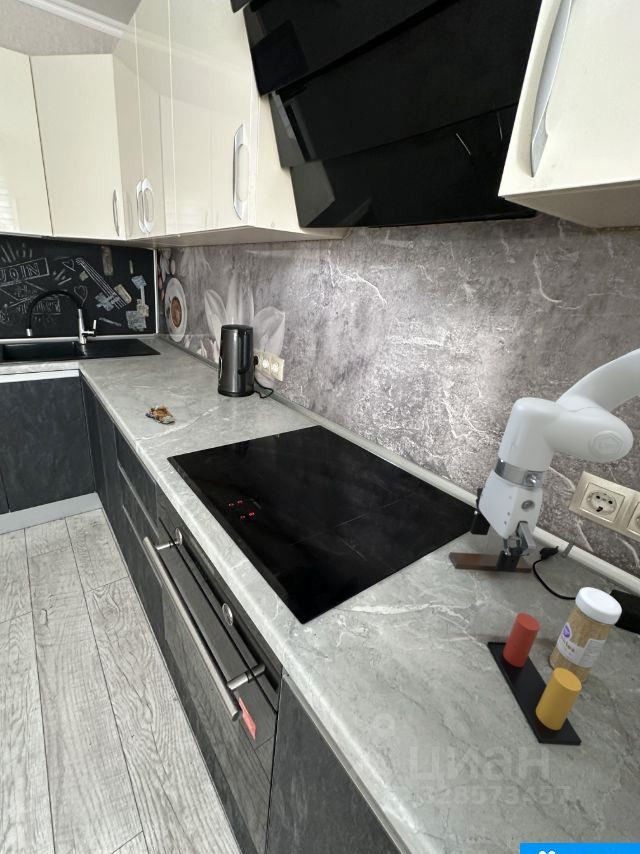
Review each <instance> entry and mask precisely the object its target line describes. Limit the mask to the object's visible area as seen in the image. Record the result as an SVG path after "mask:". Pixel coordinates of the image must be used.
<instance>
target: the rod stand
mask: <svg viewBox="0 0 640 854" xmlns="http://www.w3.org/2000/svg"><path fill="white" fill-rule="evenodd" d="M540 629H541V625H540V623H539V621H538V620H537V619H536V618H535V617H533V616H532V615H530V614H528V613H524V612H519V613H518V614H516V616H515V620H514V622H513V624H512V627H511V630H510V632H509V635H508V638H507V640H506V642H504V641H488V642H487V644H486V646H487V648H488V650H489V651H490V653H491V655H492V657H493V659H494V661H495V663H496V665H497V666H498V669H499V671H500V672H501V675H502V676H503V678H504V680H505V682H506V684H507V685H508V687H509V689H510V691H511V693H512V695H513V696H514V699H515V701H516V702H517V703H518V706H519V709H520V710H521V712H522V713H523V715H524V717H525V720H526V721H527V723H528V725H529V727H530V729H531V731H532V732H533V735H534V736H535V738H536V740H537V742H538V743H539V744H547V745H563V746H581V744H582V740H581V738H580V736H579V735H578V733H577V732H576V730H575V728H574V727H573V725H572V723H571V721H570V720H569V719H568V716H569V714H570V712H571V709H572V708H573V706H574V704H575V702H576V700H577V698H578V696H579V694H580V693H581V691H582V687H583V685H582V683H581V682H580V680H579V679H578V678H577V677H576V676H575V675H574V674H573V673H572V672H570V671H568V670H566V669H564V668H556V669H555V670H554V669H553V672H552V673H551V676H550V678H549V680H548V681H547V683H546V682H545V680H544V679H543V676H542V675H541V673H540V672H539V670H538V669H537V667H536V666H535V664H534V662H533V661H532V659H531V658H530V656H529V655H530V652H531V650H532V648H533V645H534V643H535V641H536V638H537V636H538V633H539V631H540Z"/></svg>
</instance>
